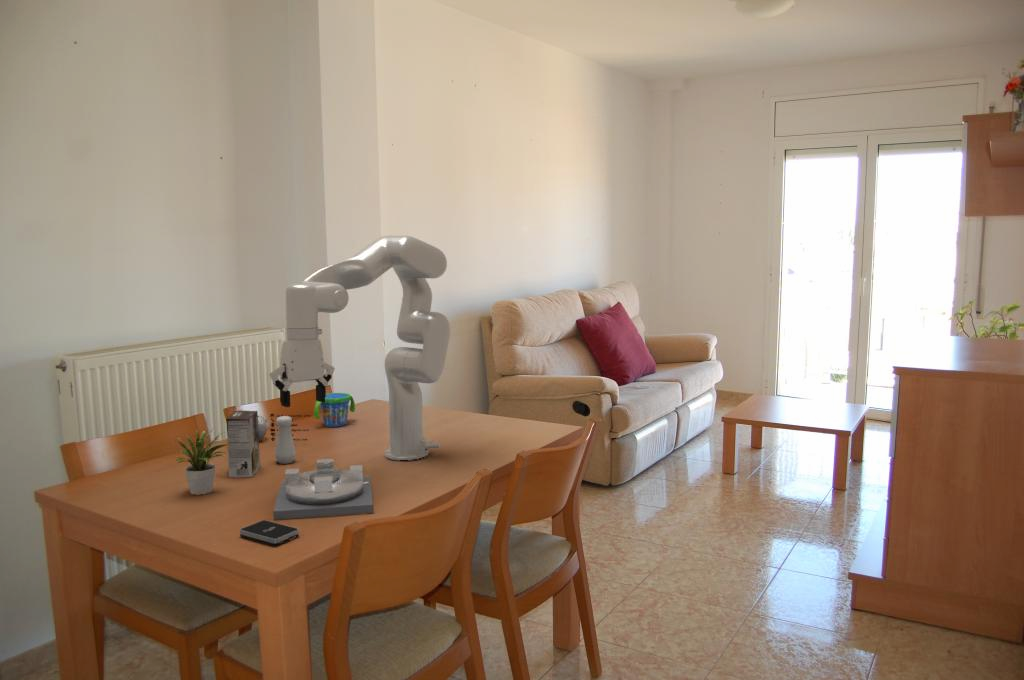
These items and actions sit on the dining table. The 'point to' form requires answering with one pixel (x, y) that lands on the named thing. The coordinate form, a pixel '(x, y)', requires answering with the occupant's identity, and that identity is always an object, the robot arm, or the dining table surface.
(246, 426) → the coffee box
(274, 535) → the external hard drive
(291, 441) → the salt shaker
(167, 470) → the dining table surface
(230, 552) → the dining table surface
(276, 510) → the housing plate
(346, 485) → the domed turntable base
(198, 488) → the house plant
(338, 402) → the snack cup
